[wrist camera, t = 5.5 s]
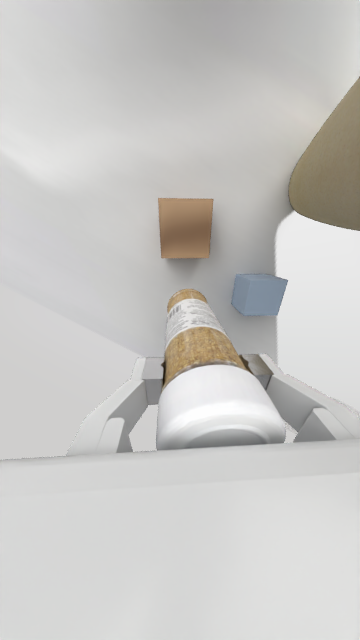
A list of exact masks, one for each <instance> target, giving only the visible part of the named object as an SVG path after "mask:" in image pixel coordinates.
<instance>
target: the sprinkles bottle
mask: <svg viewBox="0 0 360 640" xmlns="http://www.w3.org/2000/svg"><path fill="white" fill-rule="evenodd" d="M167 310H168V316H167V325H166V337H165V351H164V358H165V373H164V386H163V388H162V393H161V395H160V399H159V404H158V417H157V435H156V448H157V451H159V450H176V449H193V448H210V447H227V446H244V445H261V444H278V443H284V441H285V435H286V429H285V425H284V422H283V420H282V418H281V416H280V414H279V412H278V411H277V409H276V408H275V406H274V404H273V403H272V401H271V399H270V398H269V396H268V394H267V393H266V391H265V390H264V388H263V386H262V385H261V383H260V382H259V380H258V379H257V378H256V377H255V376H254V375H252V373H250V372H249V371H248V370H247V369H246V368H245V366H244V364H243V362H242V361H241V359H240V357H239V356H238V354H237V352H236V351H235V349H234V347H233V345H232V343H231V341H230V339H229V337H228V336H227V334H226V332H225V331H224V329H223V327H222V326H221V324H220V322H219V321H218V319H217V318H216V316H215V314H214V313H213V311H212V309H211V308H210V307H209V306H208V304H207V301H206V298H205V297H204V296H203V295H202V294H201V293H200V292H198V291H196V290H193V289H184V290H181V291H178V292H176V293H175V294H174V295H173V296H172V297H171V299H170V300H169V303H168V307H167Z"/></svg>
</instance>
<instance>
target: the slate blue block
mask: <svg viewBox="0 0 360 640" xmlns="http://www.w3.org/2000/svg"><path fill="white" fill-rule="evenodd" d="M287 282H288V280H286V279H282V278H279V277H276V276H272V275H269V274H236V278H235V284H234V290H233V296H232V303H231V304H232V305H233V306H234V307H235V308H236V309H237V310H238V311H239V312H240V313H241V314H242V315H243V316H264V315H278V311H279V308H280V305H281V302H282V298H283V295H284V292H285V289H286V285H287Z"/></svg>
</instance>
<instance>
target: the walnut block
mask: <svg viewBox="0 0 360 640" xmlns="http://www.w3.org/2000/svg"><path fill="white" fill-rule="evenodd" d="M158 203H159V222H160V242H161V258H209V250H210V237H211V224H212V210H213V199H178V198H158Z"/></svg>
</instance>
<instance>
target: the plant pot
mask: <svg viewBox="0 0 360 640" xmlns="http://www.w3.org/2000/svg"><path fill="white" fill-rule="evenodd" d="M289 200H290V203H291V205H292V207H293V209H294V210H295V211H296V212H297V213H299V214H301V215H303V216H305V217H308V218H310V219H313V220H315V221H319V222H322V223H326V224H329V225H333V226H337V227H342V228H346V229H351V230H358V231H360V77H359V78H358V80H357V81H356V82H355V83H354V85H353V86H352V87H351V89H350V90H349V91H348V92H347V94H346V95H345V96H344V98H343V99H342V100H341V102H340V103H339V104H338V106H337V107H336V108H335V110H334V111H333V112H332V114H331V115H330V116H329V118H328V119H327V120H326V122H325V123H324V124H323V126H322V127H321V129H320V130H319V132H318V133H317V134H316V136H315V137H314V139H313V140H312V142H311V143H310V145H309V146H308V148H307V149H306V151H305V152H304V154H303V155H302V157H301V158H300V160H299V161H298V163H297V165H296V167H295V168H294V171H293V173H292V176H291V179H290V183H289Z"/></svg>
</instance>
